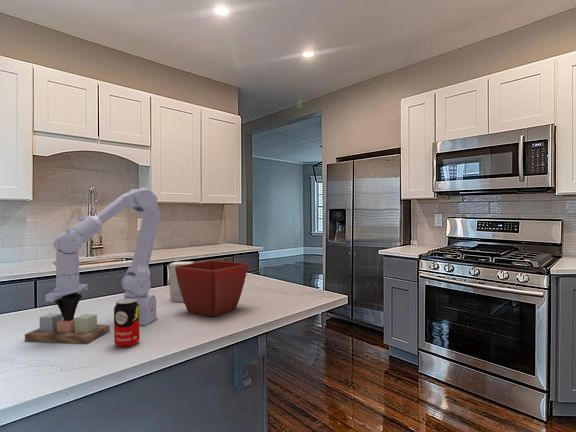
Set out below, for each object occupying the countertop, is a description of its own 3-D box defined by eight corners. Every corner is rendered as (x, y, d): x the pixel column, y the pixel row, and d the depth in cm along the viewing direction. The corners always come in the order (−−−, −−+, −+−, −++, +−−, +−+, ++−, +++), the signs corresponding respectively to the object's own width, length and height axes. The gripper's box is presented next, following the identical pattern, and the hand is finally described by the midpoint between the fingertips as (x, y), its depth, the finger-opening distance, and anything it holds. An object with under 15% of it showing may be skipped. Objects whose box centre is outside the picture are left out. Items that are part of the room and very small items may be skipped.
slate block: (62, 328, 107) (62, 313, 107) (52, 332, 103) (52, 317, 103) (50, 327, 107) (50, 313, 107) (39, 332, 103) (39, 317, 103)
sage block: (97, 329, 105) (96, 314, 105) (87, 334, 101) (87, 318, 101) (84, 328, 106) (84, 314, 106) (75, 333, 102) (74, 318, 102)
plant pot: (211, 301, 143) (210, 259, 143) (249, 308, 134) (249, 263, 133) (173, 313, 127) (173, 266, 127) (214, 321, 117) (213, 270, 117)
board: (109, 331, 108) (109, 325, 108) (87, 343, 98) (87, 336, 98) (52, 329, 110) (52, 323, 110) (24, 341, 100) (24, 334, 100)
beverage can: (111, 344, 98) (110, 300, 98) (134, 338, 102) (133, 296, 102) (119, 350, 94) (118, 305, 93) (143, 344, 98) (142, 300, 98)
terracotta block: (79, 332, 106) (79, 318, 106) (70, 337, 102) (69, 322, 102) (67, 332, 106) (67, 317, 106) (57, 337, 102) (57, 321, 102)
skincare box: (195, 298, 148) (194, 261, 148) (189, 302, 141) (188, 263, 141) (175, 298, 149) (175, 261, 149) (169, 302, 142) (168, 263, 142)
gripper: (72, 269, 112) (73, 312, 112) (34, 278, 97) (35, 327, 97) (93, 269, 111) (94, 313, 111) (58, 278, 96) (59, 328, 97)
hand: (68, 320), depth 104 cm, fingers closed, pressing on terracotta block
